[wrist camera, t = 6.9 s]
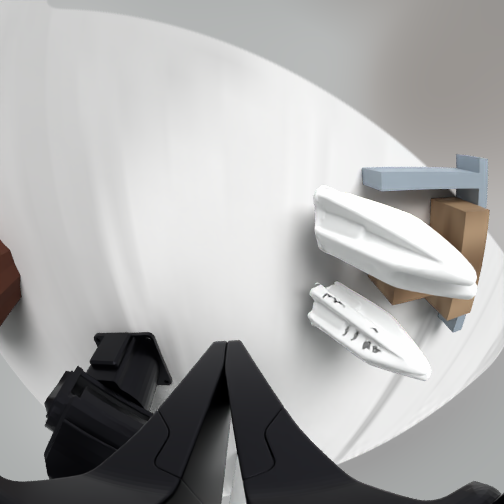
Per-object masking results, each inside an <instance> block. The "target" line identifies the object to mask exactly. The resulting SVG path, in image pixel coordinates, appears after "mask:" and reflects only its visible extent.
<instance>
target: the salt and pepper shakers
mask: <svg viewBox="0 0 504 504" xmlns="http://www.w3.org/2000/svg"><path fill="white" fill-rule="evenodd" d="M313 200H314V206H315V228H314V230H315V235H316V238H317V244H318V248H319V249H320V250H321V251H323V252H325V253H327V254H330V255H332V256H334V257H336V258H338V259H340V260H342V261H344V262H346V263H348V264H350V265H352V266H354V267H356V268H358V269H360V270H361V271H363V272H365V273H367V274H369V275H371V276H373V277H375V278H377V279H379V280H381V281H383V282H385V283H387V284H389V285H391V286H394V287H396V288H400V289H404V290H409V291H414V292H419V293H425V294H430V295H436V296H442V297H449V298H457V299H465V300H469V299H472V298H473V297H474V296H475V294H476V291H477V285H476V283H475V282H476V279H477V275H476V272H475V270H474V268H473V267H472V265H471V264H470V263H469V262H468V261H467V259H466V258H465V257H464V256H463V255H462V254H461V253H460V252H459V251H458V250H457V249H456V248H455V247H454V246H452V245H451V244H450V243H449V242H448V241H447V240H446V239H445V238H443V237H442V236H441V235H440V234H439V233H437V232H436V231H435V230H434V229H432V228H431V227H430V226H428V225H427V224H426V223H424V222H423V221H422V220H420V219H418V218H417V217H415V216H413V215H411V214H409V213H407V212H405V211H401V210H399V209H396V208H393V207H390V206H388V205H384V204H382V203H379V202H376V201H372V200H369V199H366V198H363V197H360V196H356V195H353V194H350V193H346V192H344V193H341V192H338V191H337V190H335V189H333V188H331V187H328V186H324V185H322V186H320V187H319V188H318V189H317V190H316V191H315V193H314V196H313ZM334 283H335V284H334V285H331V286H329V287H326V288H325V287H324V286H322V285H321V284H319V283H318V284H319V285H320V286H317V287H316V288H311V291H310V296H312V298H313V299H314V303H313V309H312V310H311V311H310V313H308V319H309V320H310V322H311V325H313V326H315V327H317V328H319V329H320V330H322V331H323V332H325V333H326V334H327V335H329V336H330V337H332V338H333V339H334V340H336V341H337V342H338V343H340V344H341V345H342V346H343V347H345V348H346V349H347V350H349V351H350V352H352V353H353V354H354V355H356V356H357V357H358V358H360V359H361V360H363V361H364V362H366V363H368V364H370V365H372V366H375V367H378V368H381V369H384V370H387V371H391V372H394V373H397V374H401V375H404V376H408V377H412V378H415V379H419V380H423V381H426V380H427V379H428V378H429V377H430V376H431V368H430V364H429V362H428V360H427V359H426V357H425V356H424V354H423V353H422V352H421V350H420V349H419V348H418V346H417V345H416V344H415V342H414V341H413V340H412V338H411V337H410V336H409V335H408V333H407V332H406V331H405V329H404V328H403V327H402V326H401V325H400V323H399V322H398V321H397V320H396V319H395V318H394V317H393V316H392V315H391V314H390V313H388V312H387V311H386V310H384V309H383V308H381V307H380V306H378V305H376V304H375V303H373V302H372V301H370V300H368V299H367V298H365V297H363V296H362V295H360V294H359V293H357V292H355V291H354V290H352V289H350V288H348V287H347V286H345V285H343V284H342V283H340V282H338V281H336V282H334ZM316 284H317V283H316ZM326 293H327V294H329V295H331V296H332V297H333V298H332V297H328V295H326V296H325V297H324V298H323V296H324V294H326ZM334 298H335V299H336V300H337V301H338V302H339V301H340V302H341V303H342V304H340V303H337V302H336V303H333V301H335V299H334Z"/></svg>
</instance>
